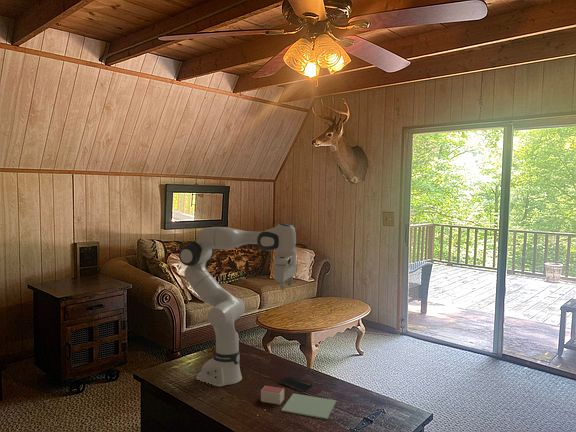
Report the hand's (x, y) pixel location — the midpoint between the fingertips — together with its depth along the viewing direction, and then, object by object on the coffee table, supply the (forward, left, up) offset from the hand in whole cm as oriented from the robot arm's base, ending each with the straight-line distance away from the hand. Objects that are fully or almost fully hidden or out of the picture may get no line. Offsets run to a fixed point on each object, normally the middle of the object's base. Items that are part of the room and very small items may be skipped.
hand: (286, 287), depth 201 cm
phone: (+3, +5, -48) cm, 49 cm away
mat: (+15, -13, -48) cm, 52 cm away
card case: (-2, -13, -48) cm, 50 cm away
